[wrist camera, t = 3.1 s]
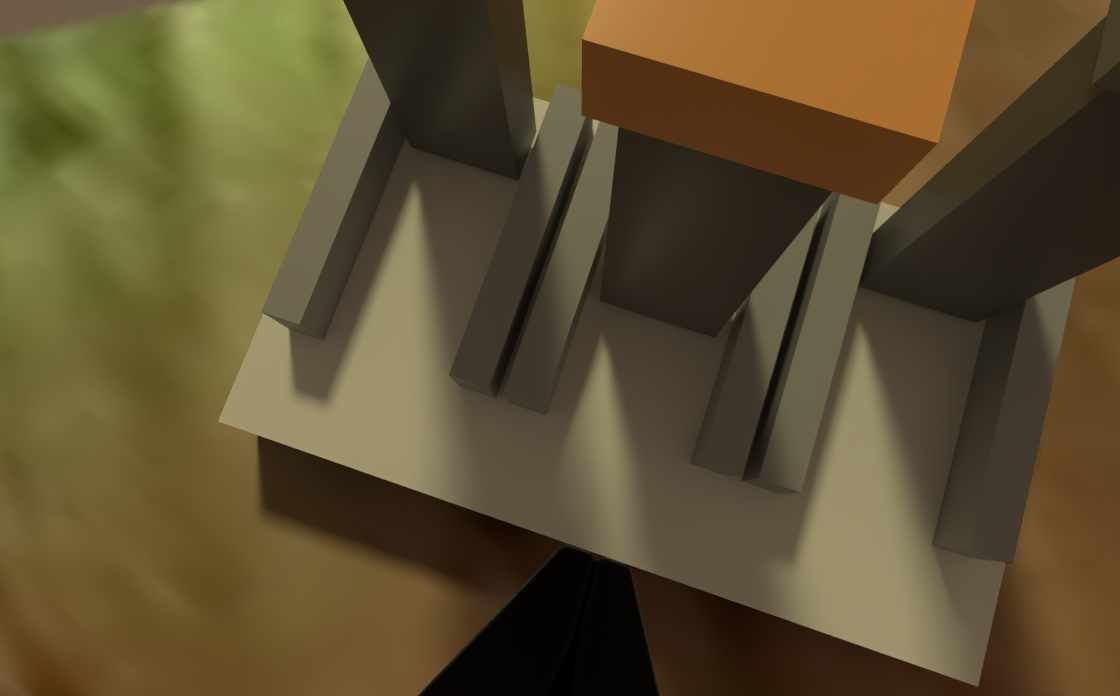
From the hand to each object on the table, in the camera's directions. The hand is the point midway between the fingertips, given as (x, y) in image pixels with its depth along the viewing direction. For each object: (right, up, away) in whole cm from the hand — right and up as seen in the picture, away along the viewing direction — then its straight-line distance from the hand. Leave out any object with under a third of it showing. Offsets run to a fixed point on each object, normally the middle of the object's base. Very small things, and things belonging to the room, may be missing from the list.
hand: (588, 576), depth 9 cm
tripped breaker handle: (+2, +4, +7) cm, 8 cm away
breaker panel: (+2, +2, +9) cm, 10 cm away
